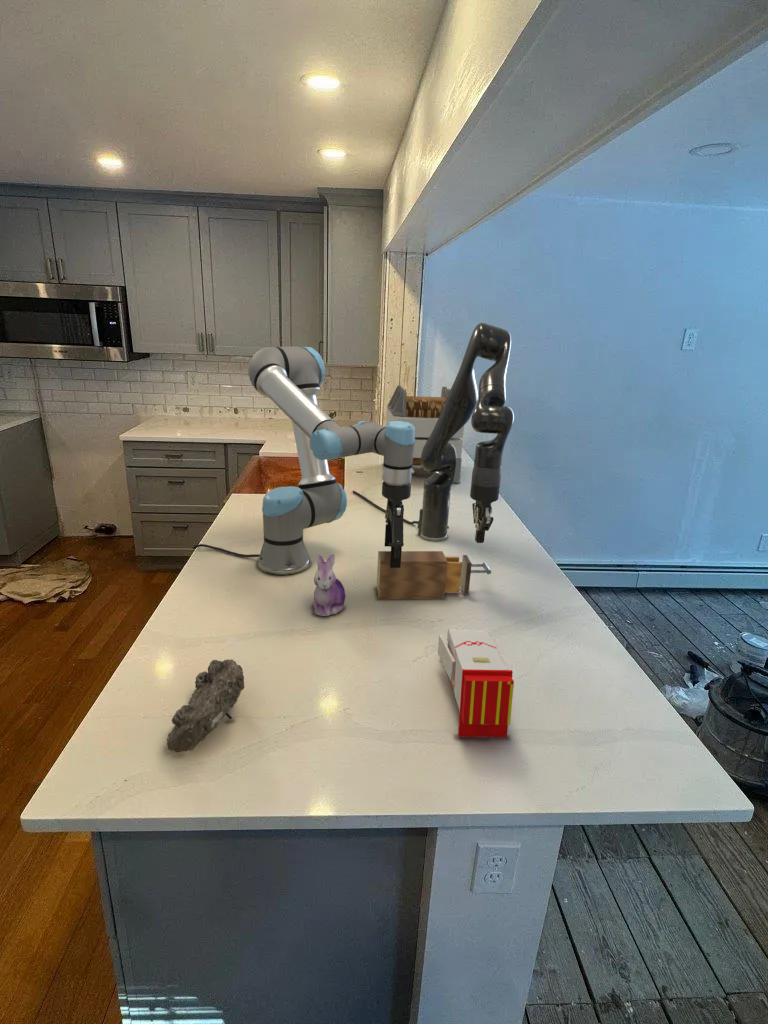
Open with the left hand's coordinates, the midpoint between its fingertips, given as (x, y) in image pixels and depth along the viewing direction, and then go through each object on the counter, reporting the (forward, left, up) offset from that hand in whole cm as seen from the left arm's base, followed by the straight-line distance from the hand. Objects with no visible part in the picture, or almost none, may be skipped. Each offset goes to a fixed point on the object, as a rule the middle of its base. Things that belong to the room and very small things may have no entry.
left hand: (392, 556), depth 155 cm
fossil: (-11, -62, -11) cm, 64 cm away
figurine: (-11, -16, -11) cm, 22 cm away
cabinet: (+5, +2, -11) cm, 12 cm away
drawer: (+14, +7, -10) cm, 19 cm away
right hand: (+21, +11, +4) cm, 24 cm away
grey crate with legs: (-33, +120, -11) cm, 125 cm away
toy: (+31, -33, -11) cm, 47 cm away
